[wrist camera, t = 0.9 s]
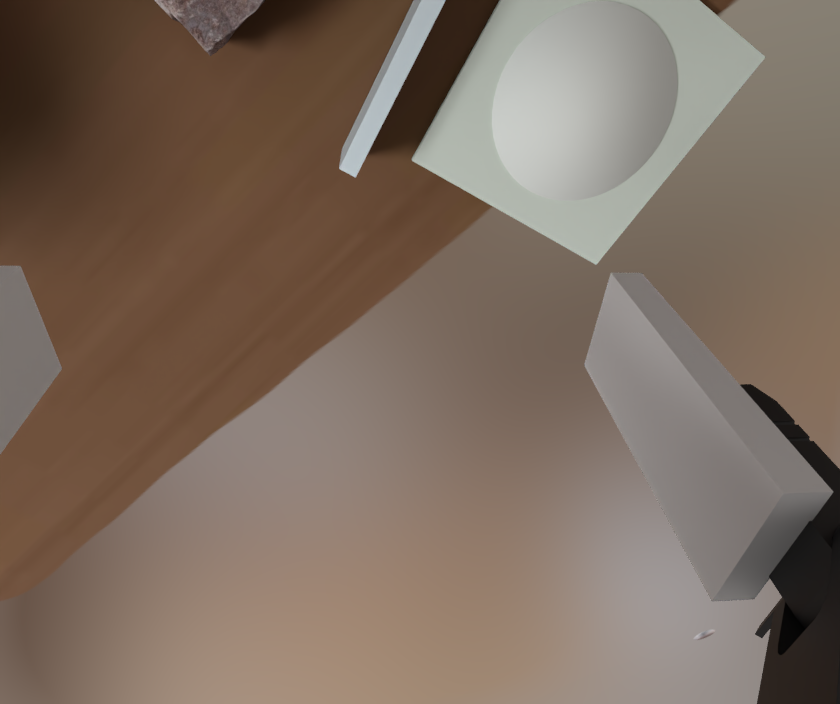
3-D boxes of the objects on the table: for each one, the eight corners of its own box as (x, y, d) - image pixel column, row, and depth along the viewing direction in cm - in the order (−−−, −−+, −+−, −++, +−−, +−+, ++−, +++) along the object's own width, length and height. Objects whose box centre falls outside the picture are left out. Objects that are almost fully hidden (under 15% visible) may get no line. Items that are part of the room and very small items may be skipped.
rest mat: (411, 158, 34) (412, 161, 34) (562, -114, 27) (565, -115, 27) (594, 262, 39) (596, 265, 39) (761, 56, 32) (766, 57, 32)
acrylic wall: (342, 148, 33) (338, 168, 30) (489, -159, 26) (506, -176, 23) (357, 156, 34) (355, 177, 31) (507, -144, 26) (526, -159, 23)
